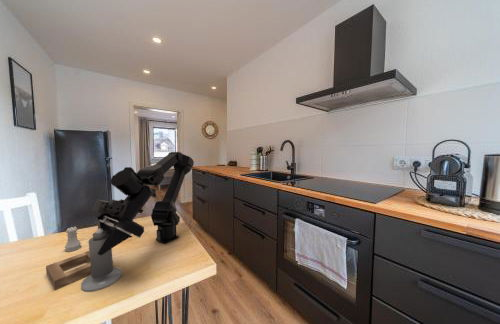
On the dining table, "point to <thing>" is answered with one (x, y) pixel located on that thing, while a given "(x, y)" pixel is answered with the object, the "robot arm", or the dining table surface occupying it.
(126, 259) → the dining table surface
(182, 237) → the dining table surface
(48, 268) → the mill stand
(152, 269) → the dining table surface
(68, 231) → the rook chess piece
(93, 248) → the pepper mill
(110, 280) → the slate coaster
